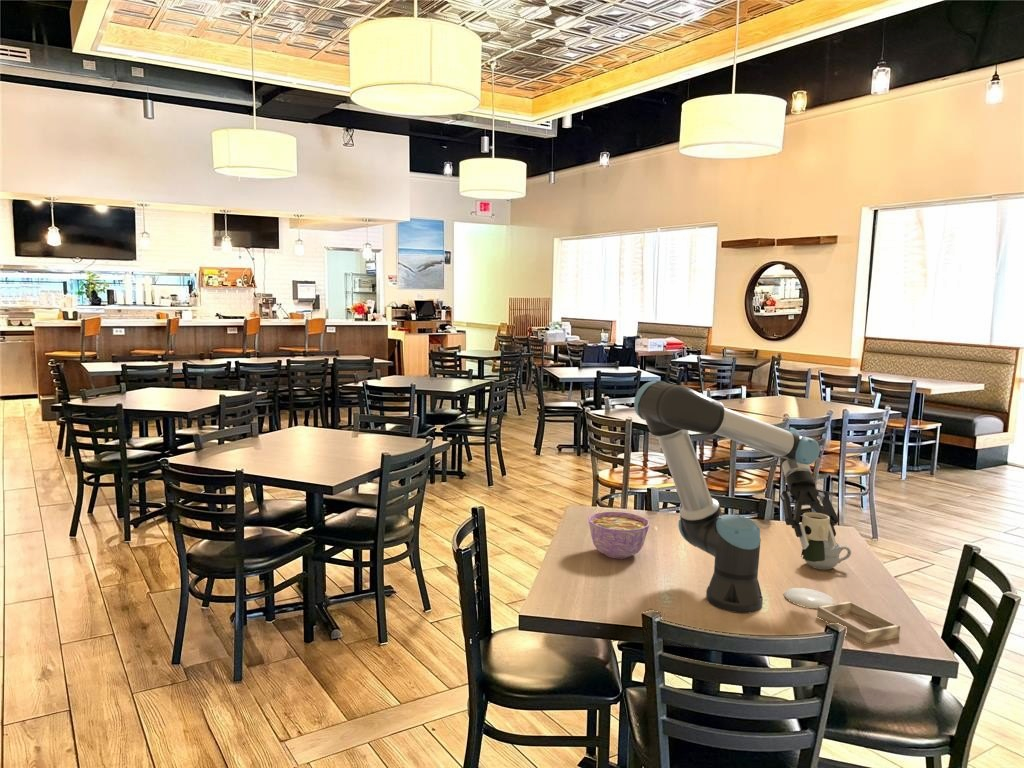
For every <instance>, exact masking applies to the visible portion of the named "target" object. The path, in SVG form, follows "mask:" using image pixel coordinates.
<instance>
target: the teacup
mask: <svg viewBox="0 0 1024 768" xmlns="http://www.w3.org/2000/svg"><path fill="white" fill-rule="evenodd" d="M823 542H824V549H825V560H824V561H816V562H812V561H807V560H805V559H804V561H805V562H806V564H808V565H809V566H810V567H811V568H813V569H818V570H824V571H825V570H831V569H833V568H835V567H836V566H837V565H838V564H840V563H842V562H843V561H845V560H847V559H849V558H850V557H851V555H852V550H851V549H850V547H848V546H847V545H842V546H841V545H840V544H839V543H838V542H836V544H837V546H836V547H835V548H834V549H833V550H831V549H830V546H829V543H828V540H824V541H823ZM843 550H846V551H847V554H845V555H844V556H843V557H840V554H841V553H842V551H843Z"/></svg>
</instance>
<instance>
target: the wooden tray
mask: <svg viewBox="0 0 1024 768" xmlns="http://www.w3.org/2000/svg"><path fill="white" fill-rule="evenodd" d="M816 612H817V613H816V617H819V618H821V619H823V620H824V621H827V622H828V623H839V624H841V625H843V626H846V627H847V634H846V635H847V636H850V637H851V638H853V639H855V640H856V639H857V640H856V641H858V640H859V642H860V641H861V642H860V643H862V642H863V643H868V644H872V643H871V642H873V643H877V642H876V641H878V642H882V641H887V640H888V641H889V640H892V639H898V638H900V633H901V625H899V624H897V623H895V622H894V621H891V620H889V619H887V618H886V617H883V616H881V615H880V614H877V613H875V612H873V611H871V610H869V609H867V608H865V607H864V606H862V605H859V604H858V603H855V602H853V601H851V600H850V601H845V602H839V603H838V602H837V603H834V604H832V605H826V606H820V607H818V609H817V611H816ZM840 614H844V615H848V614H851V615H852V616H854V617H856V618H858V619H860V620H862V621H864V622H866V623H867V624H870V625H872V626H874V627H875V628H873V629H868V630H865V629H864V628H861V627H859V626H857V625H856V624H854V623H852V622H850V621H848V620H846V619H844V618H843V617H841V615H840ZM837 615H838V616H837ZM819 618H818V619H819ZM821 619H820V620H821ZM824 621H823V622H824ZM828 623H827V624H828ZM863 643H862V644H863Z"/></svg>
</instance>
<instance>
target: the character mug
mask: <svg viewBox="0 0 1024 768" xmlns="http://www.w3.org/2000/svg"><path fill="white" fill-rule="evenodd" d="M801 515H802V519H801V524H803V526H804V529H805V533H806V536H807V540H808V543H809V546H808V547H807V548H806V549H803V548H801V549H802V550H801V556H800V557H801V558H802V560H804V561H805V560H807V561H812V562H816V561H824V560H825V549H824V542H823V541H824V540H827V539H828V536H829V523H830V517H829V516H827V515H825V514H821V513H816V512H815V511H813V512H812V511H808V512H804V513H802V514H801Z"/></svg>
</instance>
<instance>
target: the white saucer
mask: <svg viewBox="0 0 1024 768" xmlns="http://www.w3.org/2000/svg"><path fill="white" fill-rule="evenodd" d="M784 595H785V596H784ZM783 596H784V598H785V597H786V598H787V599H788V600H790V601H791V602H794V603H795V604H794V603H793V604H794V605H796V604H799V605H802V606H805V607H804V608H806V607H809V608H808V609H813V608H816V609H815V610H818V607H820V606H826V605H832V604H835V601H834V599H833V598H832V597H831V596H830V595H828V594H827V593H825V592H822V591H820V590H816V589H813V588H808V587H807V588H805V587H792V588H788V589H786V590H785V591H784V594H783ZM786 598H785V599H786ZM787 599H786V600H787ZM788 600H787V601H788ZM790 601H789V602H790ZM791 602H790V603H791ZM799 605H798V606H799ZM802 606H801V607H802Z"/></svg>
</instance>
